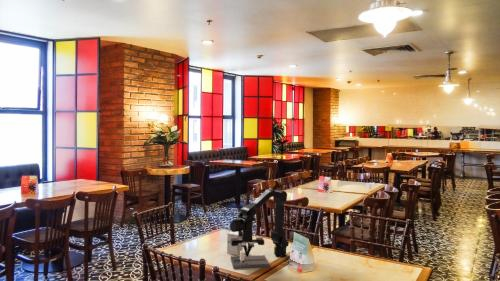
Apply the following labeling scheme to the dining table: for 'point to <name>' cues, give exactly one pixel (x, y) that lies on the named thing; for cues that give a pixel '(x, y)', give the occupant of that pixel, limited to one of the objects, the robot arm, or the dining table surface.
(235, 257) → the console
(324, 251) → the dining table surface
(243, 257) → the fader tab
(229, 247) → the supplement box
